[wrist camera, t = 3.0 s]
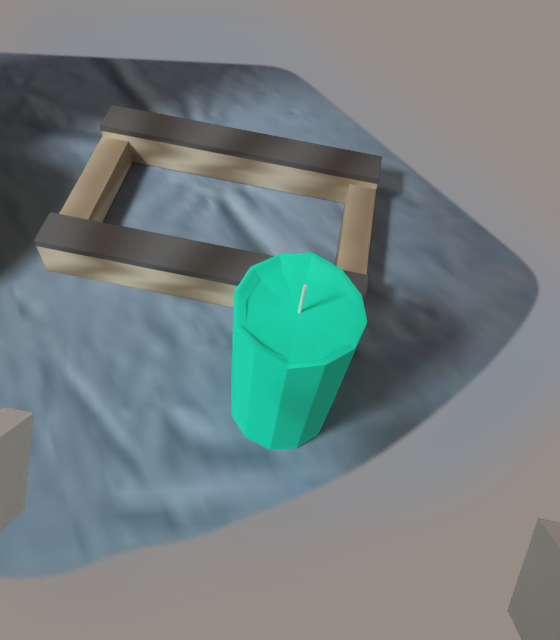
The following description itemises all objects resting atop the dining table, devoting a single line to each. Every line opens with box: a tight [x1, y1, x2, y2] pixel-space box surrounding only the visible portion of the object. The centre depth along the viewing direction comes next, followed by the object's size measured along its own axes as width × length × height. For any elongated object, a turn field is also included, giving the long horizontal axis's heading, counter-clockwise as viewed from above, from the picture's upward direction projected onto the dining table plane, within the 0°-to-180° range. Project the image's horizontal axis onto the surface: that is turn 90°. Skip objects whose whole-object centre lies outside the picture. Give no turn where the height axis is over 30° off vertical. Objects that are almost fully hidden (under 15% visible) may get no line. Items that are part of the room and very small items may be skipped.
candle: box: [231, 252, 367, 449], centre depth 27 cm, size 6×6×12 cm
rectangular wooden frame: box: [34, 105, 382, 308], centre depth 38 cm, size 21×14×3 cm, turn 80°
